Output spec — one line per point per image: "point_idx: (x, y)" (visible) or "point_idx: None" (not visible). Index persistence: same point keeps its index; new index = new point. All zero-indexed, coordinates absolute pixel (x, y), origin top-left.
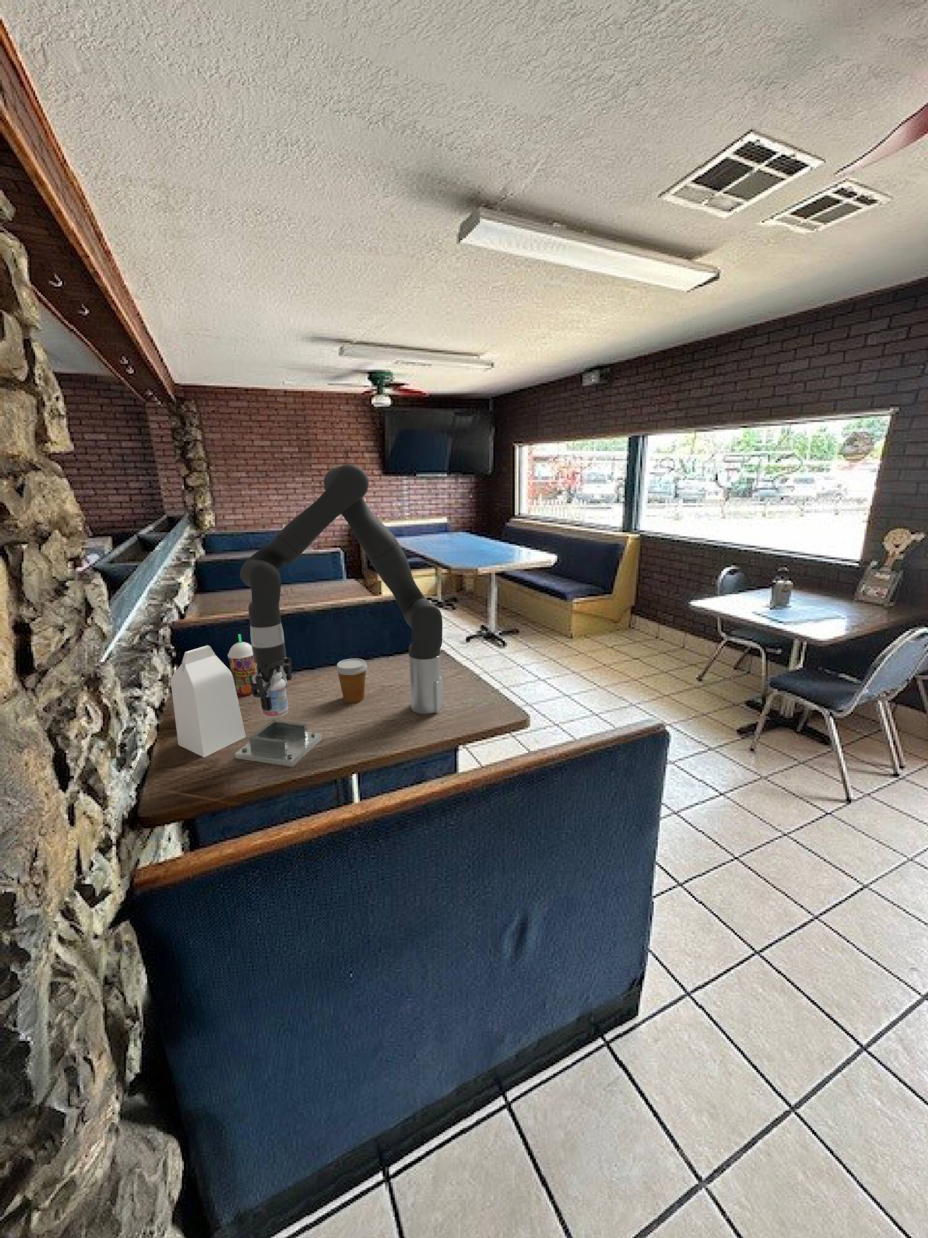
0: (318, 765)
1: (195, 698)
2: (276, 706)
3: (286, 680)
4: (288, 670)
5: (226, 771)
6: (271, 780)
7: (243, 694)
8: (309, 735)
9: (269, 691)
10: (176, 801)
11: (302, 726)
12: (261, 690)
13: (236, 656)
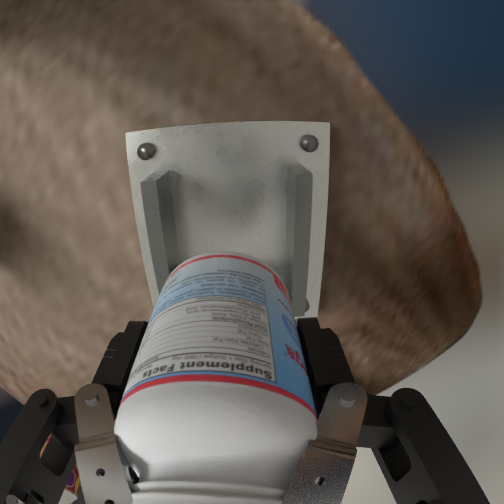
0: (293, 46)
1: (341, 501)
2: (280, 307)
3: (83, 411)
4: (27, 458)
5: (371, 288)
6: (396, 148)
7: None
8: (150, 166)
9: (334, 418)
10: (460, 298)
11: (158, 188)
12: (439, 437)
13: (67, 494)
